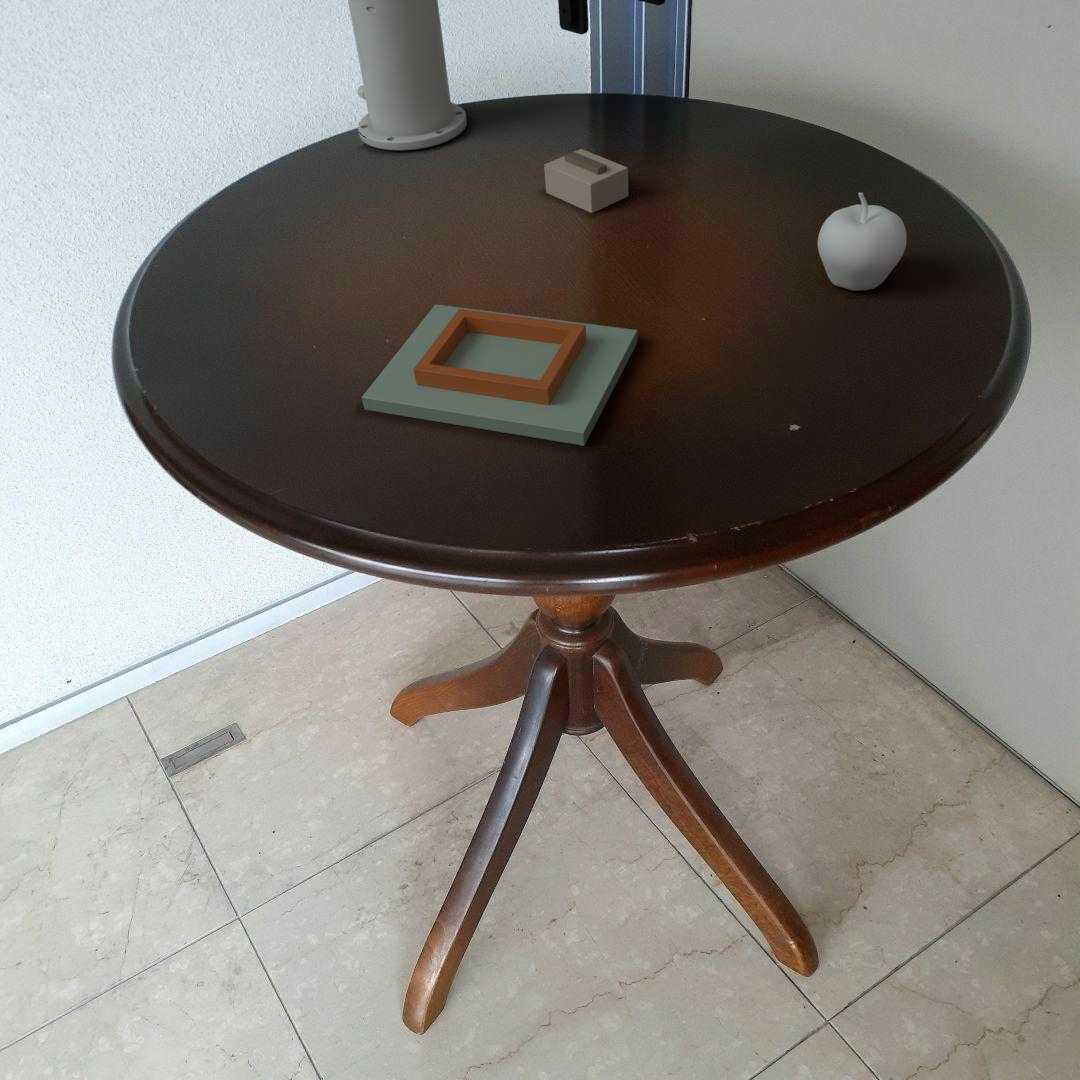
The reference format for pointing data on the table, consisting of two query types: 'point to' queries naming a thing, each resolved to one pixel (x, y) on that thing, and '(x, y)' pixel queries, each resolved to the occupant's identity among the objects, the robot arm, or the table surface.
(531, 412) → the board
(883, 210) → the plain white apple
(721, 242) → the table surface
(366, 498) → the table surface
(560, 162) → the block
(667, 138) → the table surface
